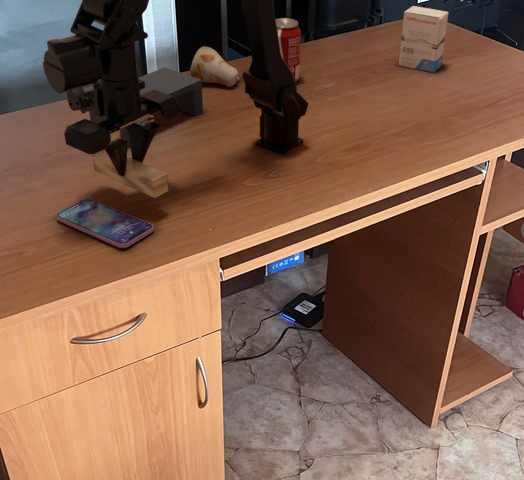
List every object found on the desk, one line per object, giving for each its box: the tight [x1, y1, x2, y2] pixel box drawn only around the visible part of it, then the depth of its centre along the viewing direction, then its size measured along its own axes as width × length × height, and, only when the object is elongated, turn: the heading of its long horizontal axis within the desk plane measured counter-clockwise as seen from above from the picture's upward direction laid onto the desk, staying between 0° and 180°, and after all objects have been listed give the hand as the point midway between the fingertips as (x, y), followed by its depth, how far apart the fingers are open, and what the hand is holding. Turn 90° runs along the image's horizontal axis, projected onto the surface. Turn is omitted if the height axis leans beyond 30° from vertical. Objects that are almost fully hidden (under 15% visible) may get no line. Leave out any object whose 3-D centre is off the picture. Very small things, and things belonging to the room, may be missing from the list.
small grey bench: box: [88, 66, 204, 148], centre depth 149 cm, size 10×20×7 cm, turn 141°
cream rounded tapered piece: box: [189, 46, 240, 88], centre depth 164 cm, size 8×10×10 cm
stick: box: [91, 150, 169, 199], centre depth 124 cm, size 14×3×3 cm, turn 51°
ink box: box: [398, 5, 449, 73], centre depth 170 cm, size 9×5×12 cm, turn 58°
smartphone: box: [55, 198, 154, 249], centre depth 122 cm, size 7×1×15 cm
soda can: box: [275, 17, 302, 83], centre depth 163 cm, size 7×7×12 cm
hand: (129, 171), depth 124 cm, fingers closed on stick, 3 cm apart
